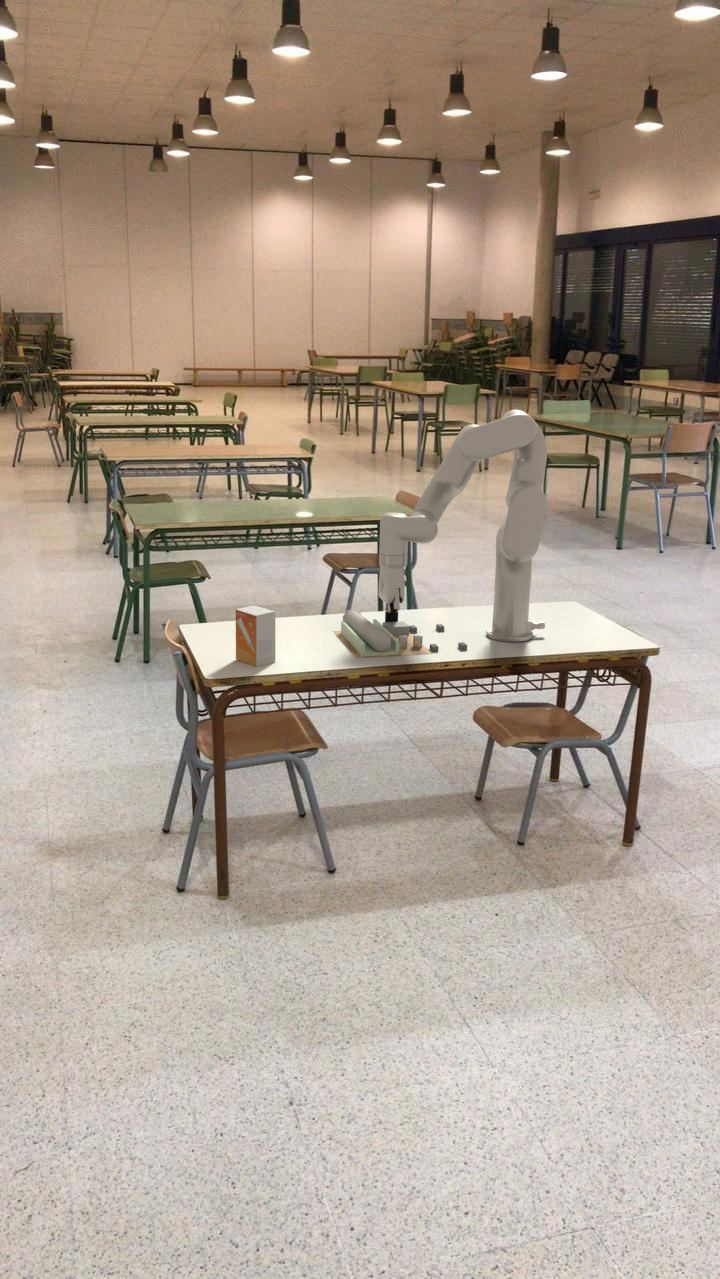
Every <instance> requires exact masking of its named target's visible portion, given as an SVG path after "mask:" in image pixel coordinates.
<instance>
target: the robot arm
mask: <svg viewBox="0 0 720 1279" xmlns="http://www.w3.org/2000/svg"><path fill="white" fill-rule="evenodd" d="M547 445H548V444H547V441H546V438H545V435H544V433H543V430H542V429H541V427H540V425H539V424H538V423H537V422H536V421H535V419H534V418H533V417H532V416H531V415H530V414H528V413H527V412H525V411H523V410H520V409H511V410H508V411H507V412H505V413H504V414H503V415H502V417H501V418H500V419H497V420H494V421H491V422H487V423H484V424H481V425H479V424H474V423H473V424H467V425H465V426H464V427H463V428H461V429H460V431H459V432H458V434H457V436H456V438H454V440H453V442H452V444H451V445H450V447H449V449H448V451H447V453H446V455H445V457H444V458H443V460H442V461H441V463H440V465H439V466H438V468H437V470H436V472H435V473H434V474H433V477H432V478H431V480H430V482H429V483H428V485H427V487H426V489H425V490H424V492H423V494H421V497H420V498H419V500H418V502H417V504H416V505H415V507H414V508H413V510H412V512H411V513H410V516H408V515H406V513H403V512H385V513H383V514H382V515H381V516H380V520H379V523H380V524H379V548H378V549H379V552H378V556H379V557H378V558H379V559H378V561H379V562H378V565H379V566H380V568H379V578H378V591H377V592H378V593H377V594H378V597H379V599H381V600H382V601H383V602H384V604H385V606H384V607H385V608H384V610H385V612H384V613H385V614H384V622H399V610H400V608H401V607H400V606H401V605H400V604H403V603H404V601H405V590H406V589H405V586H406V584H405V577H406V576H405V575H406V573H405V568H406V567H407V566H408V556H409V555H408V548H409V542H411V543H414V544H415V543H416V544H425V545H426V544H428V543H432V542H433V541H434V540H435V539H436V538H437V535H438V532H439V526H438V524H439V521H440V519H441V518H442V516H443V514H444V512H445V511H446V509H447V508H448V506H449V505H450V503H451V502H452V501H453V500H454V499H455V498H456V497H457V496H458V495H460V494H461V493H462V492H463V491H464V490H465V489H466V486H467V485H468V483H469V482H470V480H471V478H472V476H473V474H474V472H475V471H476V469H477V467H478V466H479V464H480V463H481V461H482V460H486V459H490V458H493V457H497V456H500V455H502V454H505V453H510V452H512V451H513V460H512V470H511V474H510V477H509V478H510V479H509V483H508V487H507V492H506V494H505V502H506V506H507V508H508V509H507V514H506V518H505V519H506V520H505V522H503V523H502V524H501V525H500V526H499V527H498V530H497V533H496V538H495V574H494V591H493V592H494V593H493V607H492V608H493V609H492V610H493V611H492V623H491V625H492V626H491V627H489V628H487V629H486V630H485V631H486V632H485V635H486V636H487V637H488V638H490V639H492V640H497V641H500V642H513V643H516V642H526V641H530V640H531V639H533V637H534V633H533V631H534V630H536V629H537V630H545V628H546V623H545V622H544V621H537V620H531V619H529V612H530V602H531V601H530V600H531V599H530V597H531V584H532V582H531V581H532V569H533V568H532V567H533V563H532V560H533V558H534V557H535V555H536V554H537V551H538V549H539V547H540V542H541V536H542V532H543V528H544V523H545V517H546V513H547V497H546V495H545V492H544V490H543V484H544V480H545V479H544V478H545V472H546V467H547V459H548V446H547Z"/></svg>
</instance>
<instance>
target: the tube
mask: <svg viewBox="0 0 720 1279" xmlns="http://www.w3.org/2000/svg"><path fill="white" fill-rule="evenodd" d="M342 621H345V622H346V623H347V624H348V626H349V627H350V628H351V629H352V630H353V631H354V632H355V633H356V634H357V635H358V636H359V637H360V638H362V639H363V640H364V641H365V642H366V643H368V644H369V645H370V646H371V647H373V648H374V649H375V650H377V651H378V652H386V651H387V650H388V649H389V648H390V646H391V638H390V637H389V636H388V635H386V634H385V633H384V632H383V631H381V630H380V629H379V628H377V627H376V626H375V625H373V622H371V621H370V620H368V619H367V618H366V617H364V616H363V615H362V614H361V613H360V612H359V611H358V610H356V609H348V610H347V609H346V611H345V613H344V614H343V616H342Z"/></svg>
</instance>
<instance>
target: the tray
mask: <svg viewBox="0 0 720 1279" xmlns="http://www.w3.org/2000/svg"><path fill="white" fill-rule="evenodd" d="M372 624H373V625H375V626H376V627H377V628H379V629H380V630H381V631H383V632H384V633H385V634H386V635H388V636H389V637H390V638H391V646H390V648H389V649H388V650H387V651H386V652H378V651H377V650H375V649H374V648H373V647H371V646H370V645H369V644H368V643H366V642H365V641H364V640H363V639H362V638H360V637H359V636H358V635H357V634H356V633H355V632H354V631H353V630H352V629H351V628H350V627H349V626H348V624H347V623H346V622H345V621H343V620H341V622H340V631H341V633H342V635H343V636H344V637H345V638H346V639H347V640H348V641H349V643H350V644H351V645H352V646H353V647H354V648H355V649H356V651H357V652H358V653H359V654H360V655H361V656H362V657H363V656H381V655H399V641H398V640H397V639H396V638H395V637H394V636H393V635H392V634H391V633H390V632H389V631H388V630H387V629H385V628H384V627H383V626H382V625H383V624H382V623H381V622H379V621H378V619H372Z"/></svg>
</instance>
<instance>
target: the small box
mask: <svg viewBox="0 0 720 1279" xmlns="http://www.w3.org/2000/svg"><path fill="white" fill-rule="evenodd" d="M235 660H237V661H240V662H243V663H246V664H249V665H251V666H254V667H255V668H258V667H261V666H267V665H269V663H270V664H272V663H273V664H274V663H275V662H276V611H275V610H271V609H268V608H264V607H260V606H258V605H249V606H244V607H239V608H236V609H235Z"/></svg>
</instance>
